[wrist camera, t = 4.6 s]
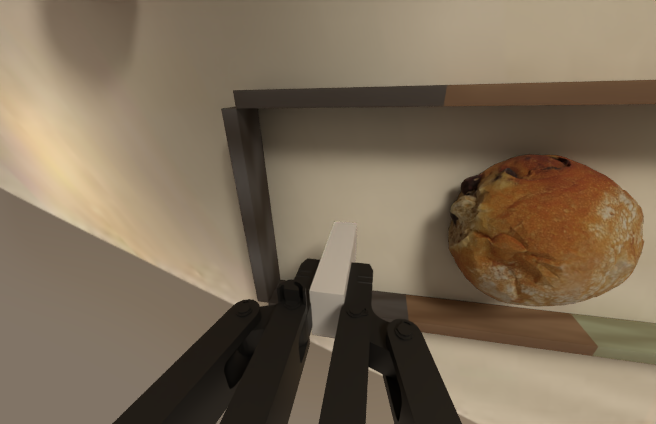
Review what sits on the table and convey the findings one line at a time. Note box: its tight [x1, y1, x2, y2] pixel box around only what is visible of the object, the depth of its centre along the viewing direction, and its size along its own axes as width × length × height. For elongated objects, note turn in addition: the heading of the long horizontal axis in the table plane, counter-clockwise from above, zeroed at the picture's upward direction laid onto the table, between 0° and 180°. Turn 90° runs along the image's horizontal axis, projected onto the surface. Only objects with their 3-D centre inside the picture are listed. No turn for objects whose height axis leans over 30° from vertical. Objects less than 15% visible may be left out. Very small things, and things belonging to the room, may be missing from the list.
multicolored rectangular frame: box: [221, 80, 656, 365], centre depth 17 cm, size 18×38×3 cm, turn 91°
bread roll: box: [448, 154, 644, 306], centre depth 17 cm, size 10×10×8 cm
